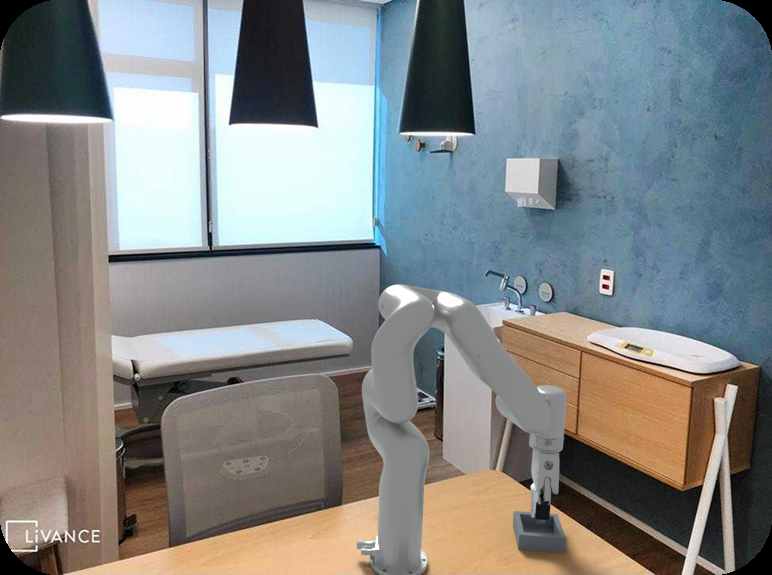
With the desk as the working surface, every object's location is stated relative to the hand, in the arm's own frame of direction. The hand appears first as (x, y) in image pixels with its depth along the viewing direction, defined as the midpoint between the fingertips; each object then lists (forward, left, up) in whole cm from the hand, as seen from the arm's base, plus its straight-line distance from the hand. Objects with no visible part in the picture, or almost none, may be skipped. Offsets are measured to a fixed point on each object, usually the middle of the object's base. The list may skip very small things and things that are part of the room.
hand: (540, 512), depth 153 cm
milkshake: (0, 0, -2) cm, 2 cm away
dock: (0, 0, -6) cm, 6 cm away
